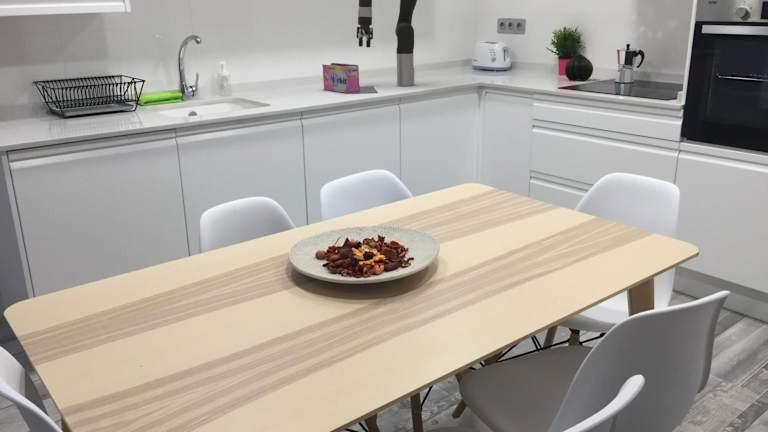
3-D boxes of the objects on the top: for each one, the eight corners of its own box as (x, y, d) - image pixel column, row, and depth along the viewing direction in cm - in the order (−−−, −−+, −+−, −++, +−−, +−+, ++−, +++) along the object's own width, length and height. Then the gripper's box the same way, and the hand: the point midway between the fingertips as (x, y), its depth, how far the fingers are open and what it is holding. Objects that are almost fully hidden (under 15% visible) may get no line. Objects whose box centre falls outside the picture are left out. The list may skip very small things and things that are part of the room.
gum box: (322, 89, 369) (320, 64, 365) (333, 87, 374) (332, 62, 370) (348, 93, 352) (346, 66, 347) (360, 91, 356) (358, 64, 352)
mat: (373, 86, 376) (373, 86, 376) (377, 92, 352) (377, 92, 352) (349, 87, 375) (349, 86, 375) (352, 93, 351) (352, 93, 351)
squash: (579, 72, 367) (591, 50, 370) (556, 72, 378) (567, 50, 381) (590, 88, 376) (601, 66, 380) (567, 87, 387) (577, 65, 390)
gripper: (377, 16, 363) (376, 47, 367) (364, 15, 374) (364, 46, 379) (365, 16, 359) (364, 47, 364) (352, 15, 371) (352, 46, 375)
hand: (364, 47), depth 371 cm, fingers open, 8 cm apart
